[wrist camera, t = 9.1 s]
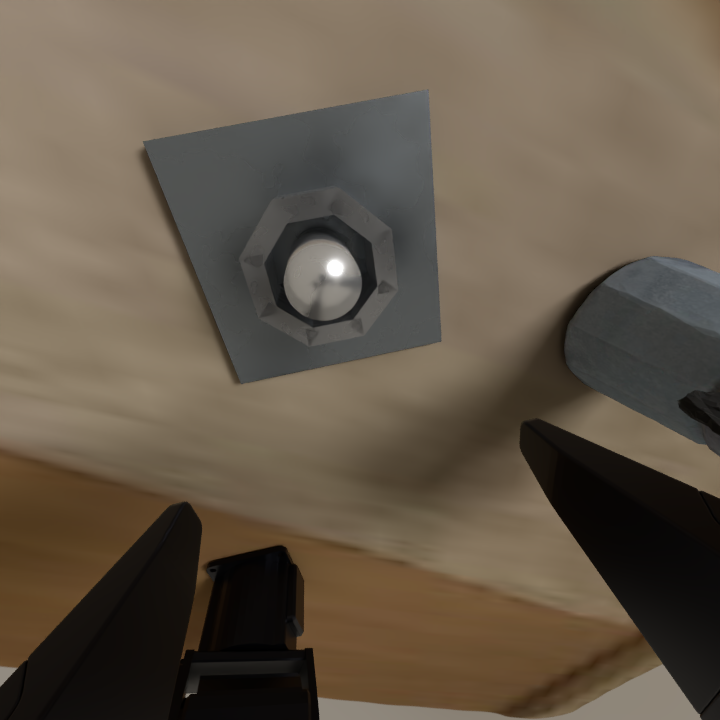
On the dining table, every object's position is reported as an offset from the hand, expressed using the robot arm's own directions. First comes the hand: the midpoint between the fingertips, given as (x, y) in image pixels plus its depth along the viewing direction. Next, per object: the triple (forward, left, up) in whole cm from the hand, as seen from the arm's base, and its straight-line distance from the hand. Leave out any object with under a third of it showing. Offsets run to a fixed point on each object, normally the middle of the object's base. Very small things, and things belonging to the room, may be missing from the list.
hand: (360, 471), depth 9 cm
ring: (0, +3, -11) cm, 11 cm away
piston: (0, +3, -12) cm, 12 cm away
